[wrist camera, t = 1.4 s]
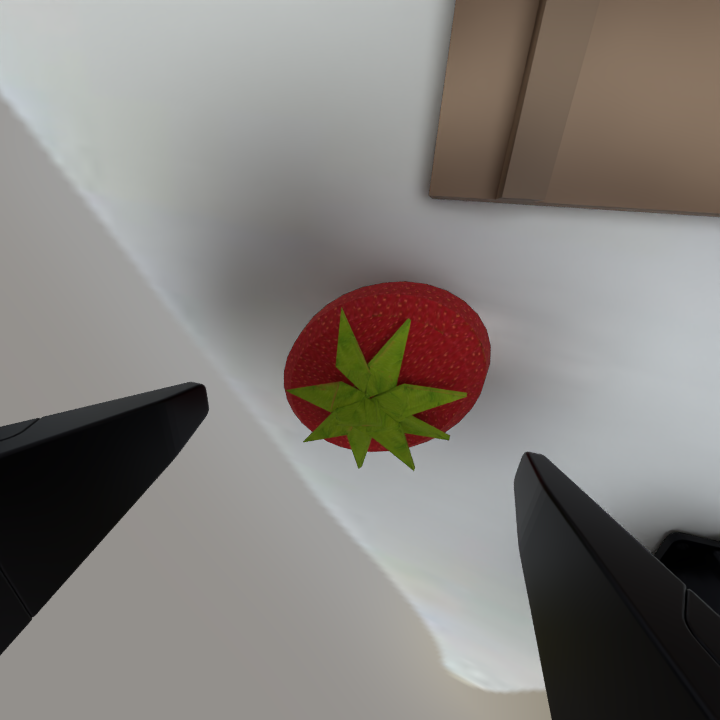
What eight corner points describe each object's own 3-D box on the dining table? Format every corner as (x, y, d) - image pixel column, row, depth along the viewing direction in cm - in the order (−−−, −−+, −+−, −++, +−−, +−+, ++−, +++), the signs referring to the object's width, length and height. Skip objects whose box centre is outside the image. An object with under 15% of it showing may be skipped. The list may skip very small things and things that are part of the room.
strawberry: (313, 303, 17) (166, 396, 8) (450, 232, 14) (450, 261, 5) (363, 395, 19) (285, 557, 10) (497, 348, 16) (558, 522, 7)
